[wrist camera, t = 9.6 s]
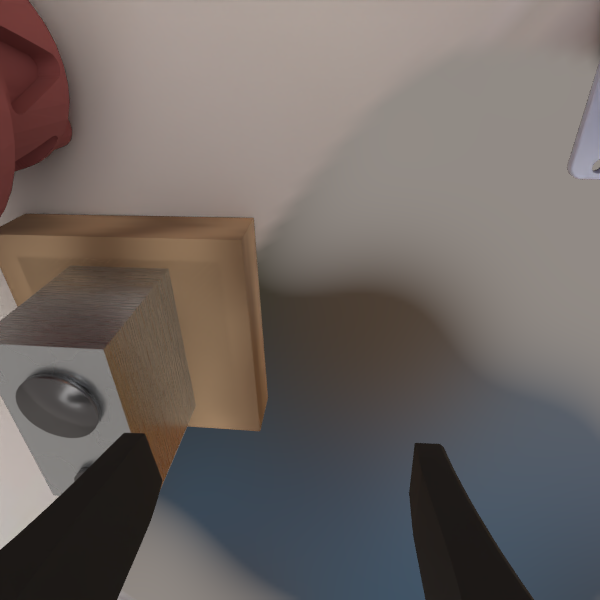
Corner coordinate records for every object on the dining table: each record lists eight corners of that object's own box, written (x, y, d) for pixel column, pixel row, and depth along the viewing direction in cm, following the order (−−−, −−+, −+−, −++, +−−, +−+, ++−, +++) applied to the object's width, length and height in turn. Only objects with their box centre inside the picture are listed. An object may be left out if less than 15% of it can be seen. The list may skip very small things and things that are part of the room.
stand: (253, 218, 19) (241, 240, 17) (267, 397, 24) (260, 431, 22) (24, 213, 20) (-14, 234, 18) (89, 386, 25) (66, 418, 23)
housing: (196, 405, 22) (151, 510, 17) (115, 400, 22) (49, 501, 17) (168, 268, 18) (98, 355, 13) (70, 265, 18) (-35, 348, 13)
